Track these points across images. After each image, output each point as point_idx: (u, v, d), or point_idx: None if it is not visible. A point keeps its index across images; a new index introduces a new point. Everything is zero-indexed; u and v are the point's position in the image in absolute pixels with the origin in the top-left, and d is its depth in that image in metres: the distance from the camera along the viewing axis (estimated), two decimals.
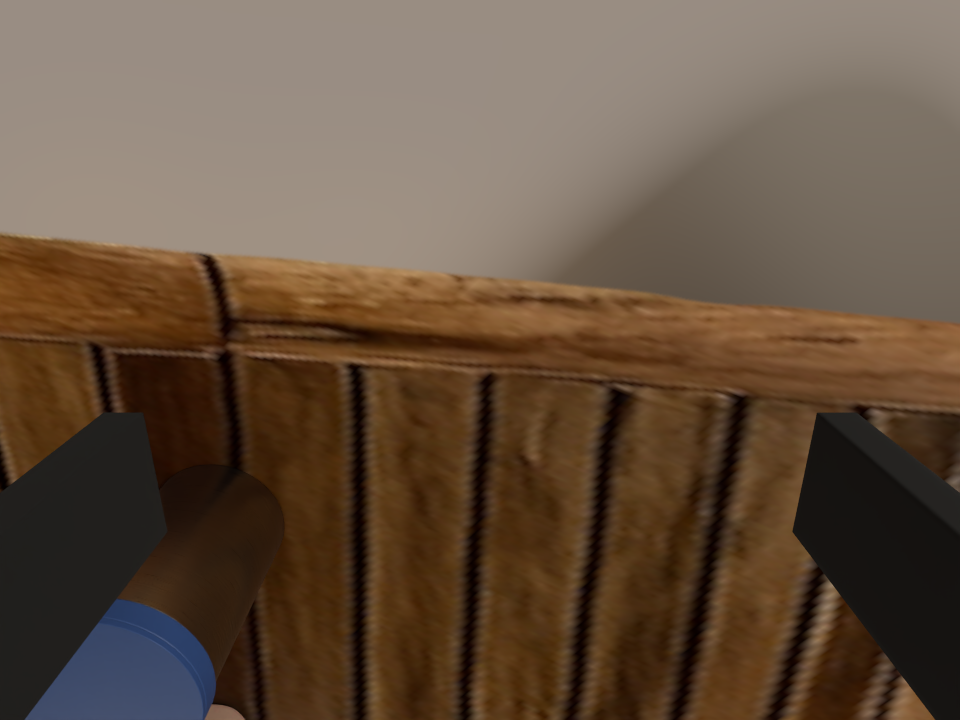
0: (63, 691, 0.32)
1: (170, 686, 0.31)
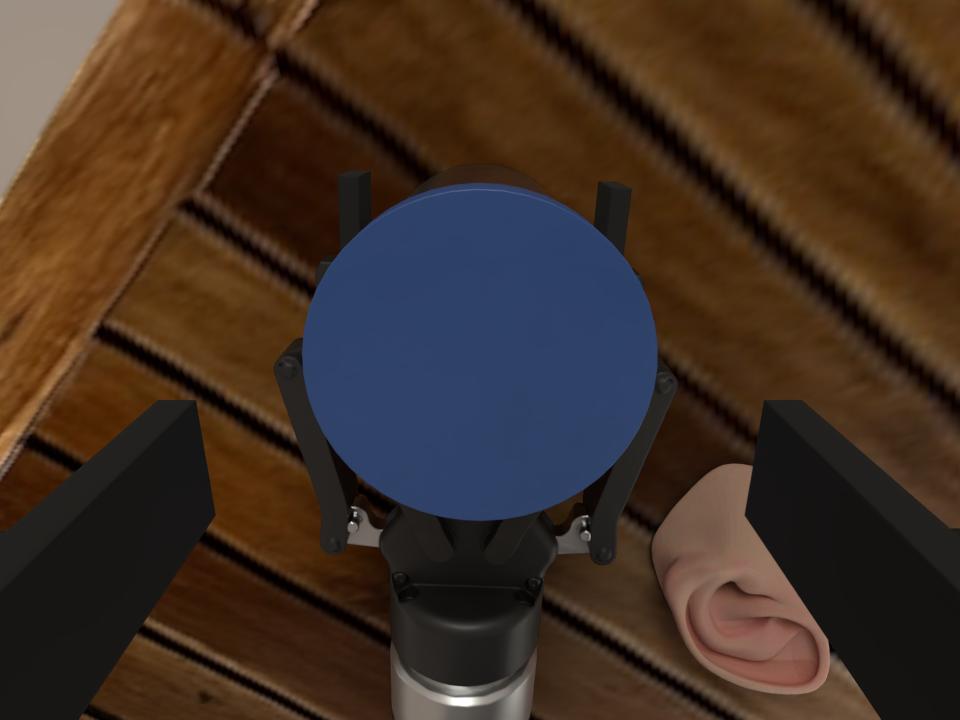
0: (425, 407, 0.18)
1: (529, 248, 0.17)
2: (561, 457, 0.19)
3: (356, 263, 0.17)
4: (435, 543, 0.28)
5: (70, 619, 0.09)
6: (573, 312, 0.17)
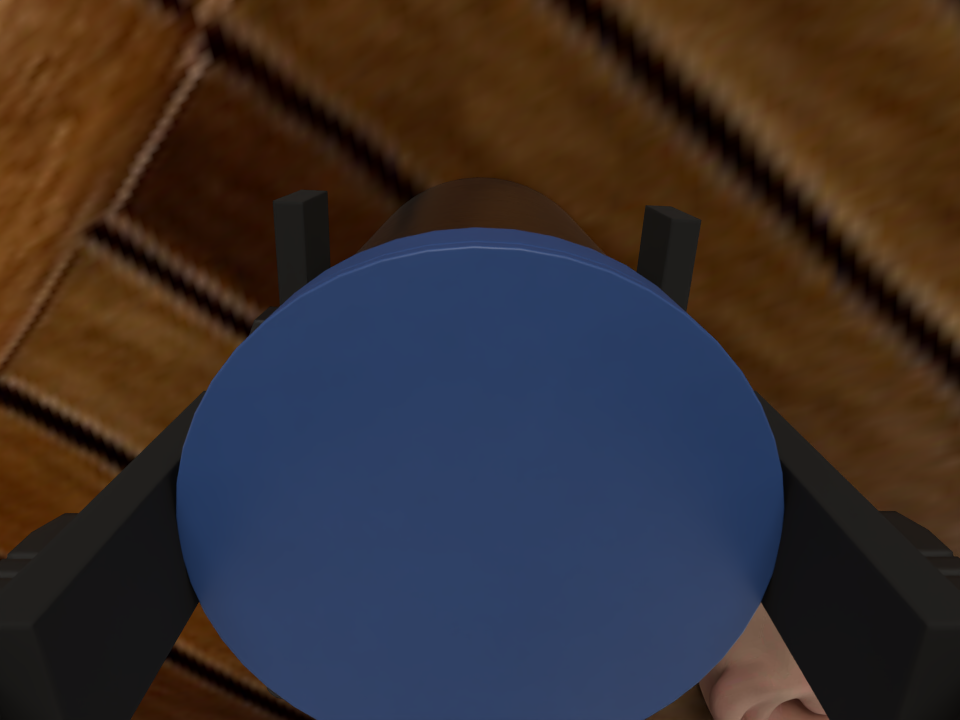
0: (388, 601, 0.11)
1: (568, 350, 0.09)
2: (613, 672, 0.11)
3: (260, 374, 0.09)
4: None
5: (140, 596, 0.09)
6: (642, 454, 0.10)
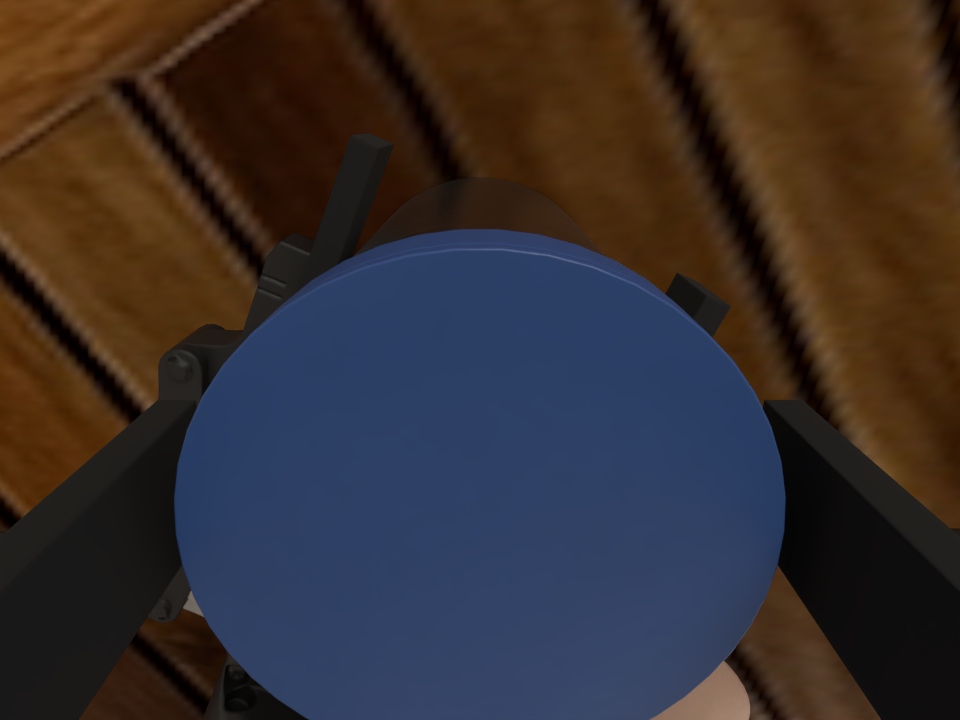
0: (496, 640, 0.11)
1: (312, 399, 0.09)
2: (701, 502, 0.10)
3: (236, 622, 0.11)
4: None
5: (70, 619, 0.09)
6: (453, 378, 0.09)
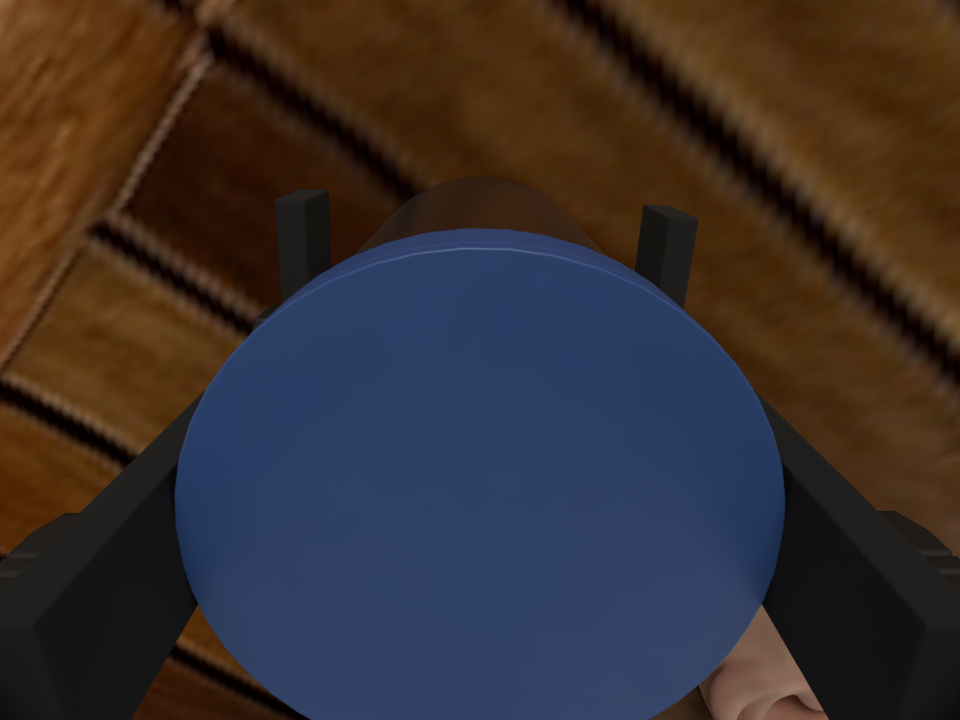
0: (534, 628, 0.11)
1: (266, 462, 0.10)
2: (674, 433, 0.10)
3: (293, 683, 0.11)
4: None
5: (140, 595, 0.09)
6: (382, 399, 0.09)
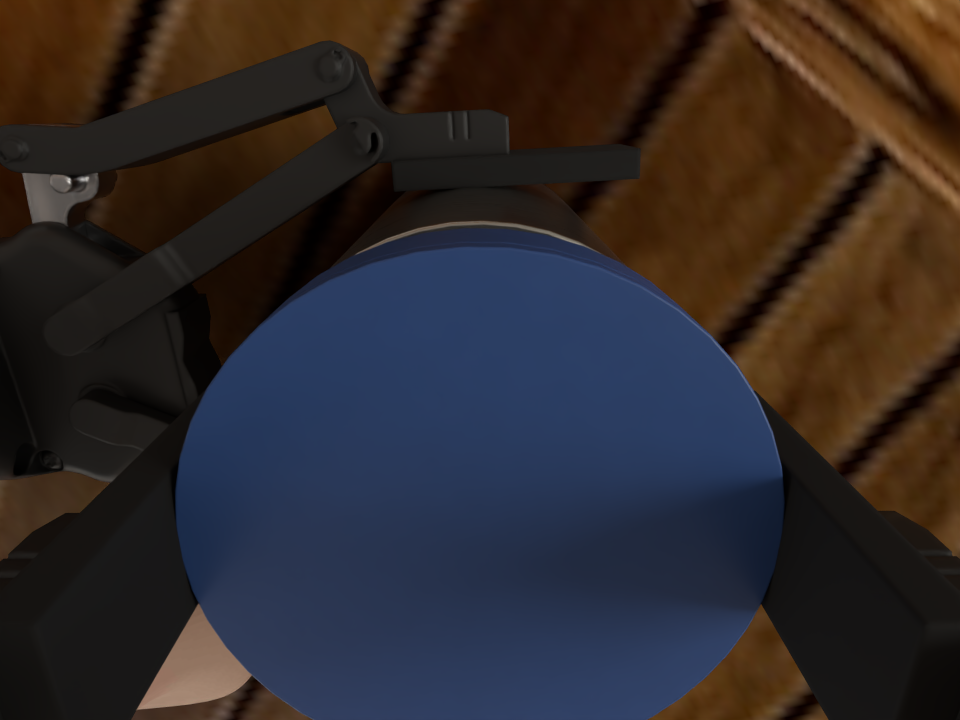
0: (535, 628, 0.11)
1: (267, 461, 0.10)
2: (673, 432, 0.10)
3: (293, 682, 0.11)
4: (78, 327, 0.18)
5: (140, 595, 0.09)
6: (382, 398, 0.09)
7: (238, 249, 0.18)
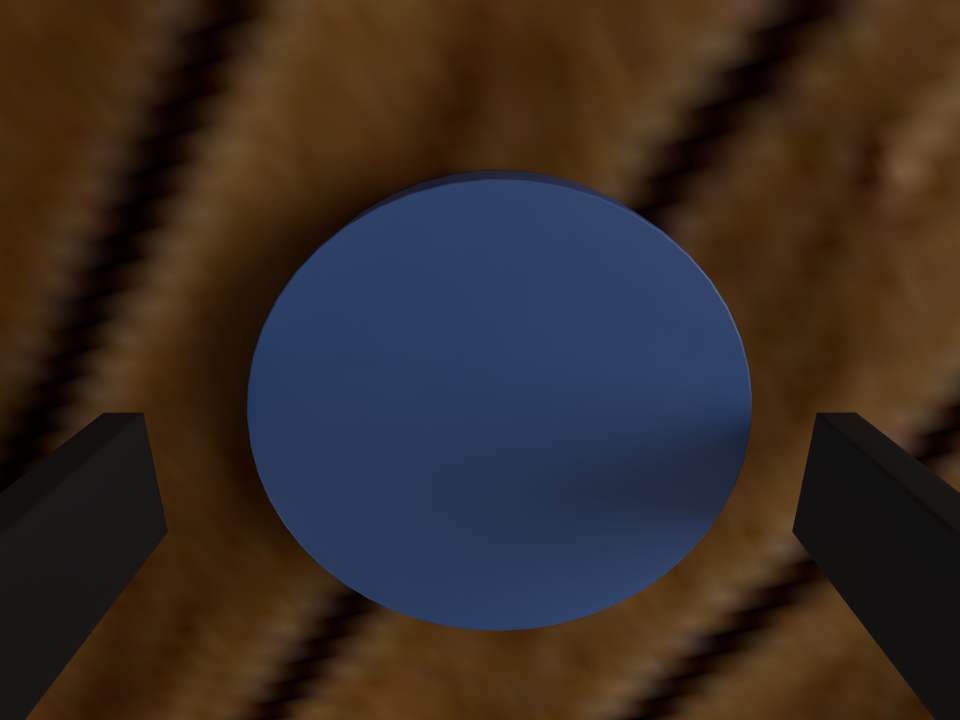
0: (543, 509, 0.13)
1: (324, 361, 0.12)
2: (659, 337, 0.12)
3: (340, 557, 0.14)
4: None
5: None
6: (419, 307, 0.12)
7: None
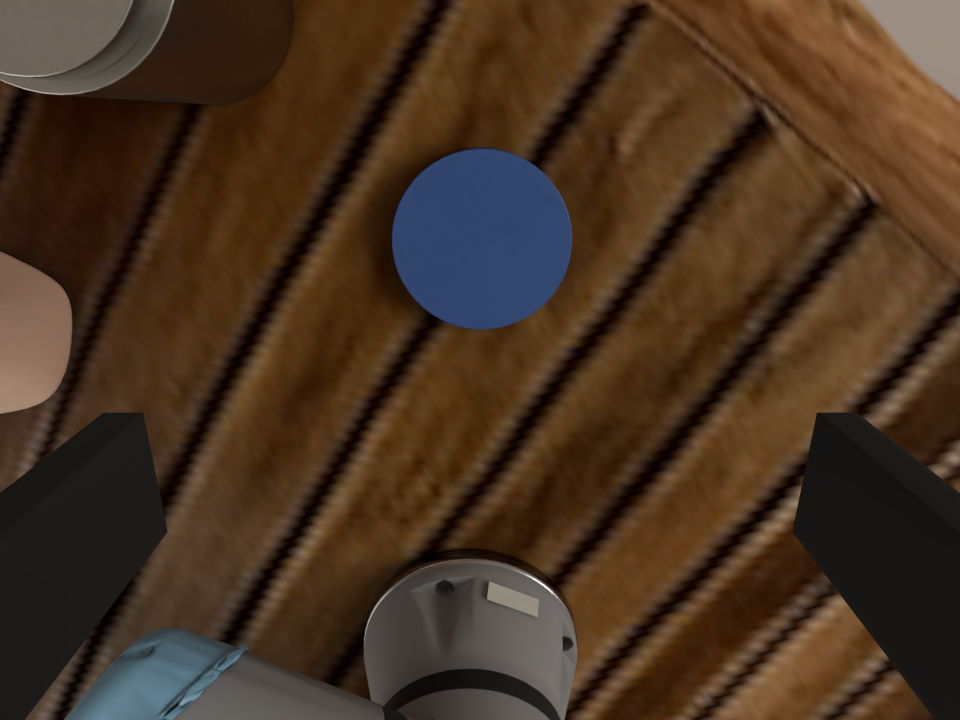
0: (499, 273, 0.36)
1: (421, 213, 0.34)
2: (536, 204, 0.34)
3: (422, 295, 0.36)
4: None
5: None
6: (454, 193, 0.34)
7: None
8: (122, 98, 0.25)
